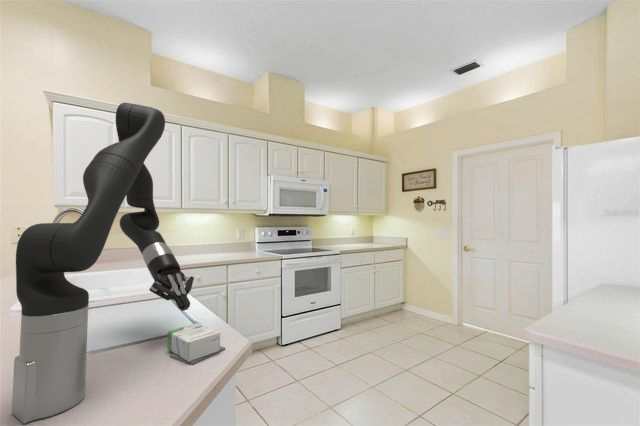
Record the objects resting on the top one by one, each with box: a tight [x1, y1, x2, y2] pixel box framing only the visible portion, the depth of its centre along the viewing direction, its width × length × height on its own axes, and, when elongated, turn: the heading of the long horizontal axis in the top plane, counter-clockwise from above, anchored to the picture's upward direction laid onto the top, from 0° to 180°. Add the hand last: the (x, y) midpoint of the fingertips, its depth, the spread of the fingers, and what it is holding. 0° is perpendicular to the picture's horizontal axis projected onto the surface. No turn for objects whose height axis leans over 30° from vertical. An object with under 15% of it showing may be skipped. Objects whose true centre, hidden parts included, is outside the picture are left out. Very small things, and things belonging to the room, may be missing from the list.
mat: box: [169, 345, 226, 366], centre depth 74 cm, size 10×9×1 cm
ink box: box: [167, 322, 221, 362], centre depth 75 cm, size 8×5×12 cm
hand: (186, 308), depth 79 cm, fingers closed
